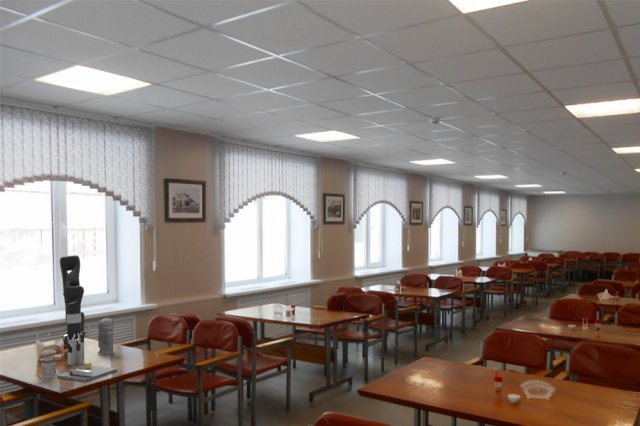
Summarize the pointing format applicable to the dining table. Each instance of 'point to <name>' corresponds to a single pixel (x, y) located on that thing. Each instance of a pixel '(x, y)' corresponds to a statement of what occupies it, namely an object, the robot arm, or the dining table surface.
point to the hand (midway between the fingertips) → (74, 351)
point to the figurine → (105, 337)
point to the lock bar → (80, 372)
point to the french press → (48, 364)
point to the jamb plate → (96, 373)
